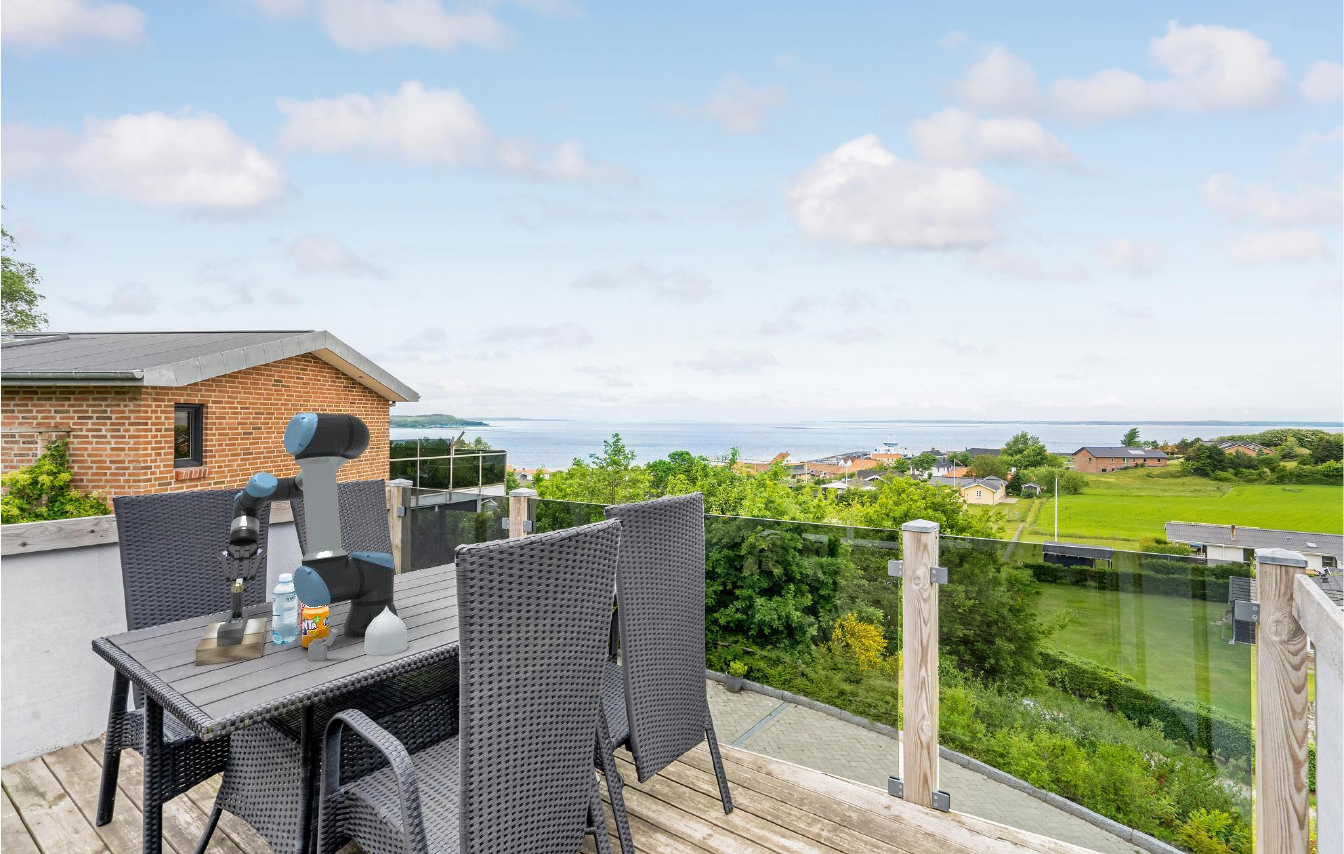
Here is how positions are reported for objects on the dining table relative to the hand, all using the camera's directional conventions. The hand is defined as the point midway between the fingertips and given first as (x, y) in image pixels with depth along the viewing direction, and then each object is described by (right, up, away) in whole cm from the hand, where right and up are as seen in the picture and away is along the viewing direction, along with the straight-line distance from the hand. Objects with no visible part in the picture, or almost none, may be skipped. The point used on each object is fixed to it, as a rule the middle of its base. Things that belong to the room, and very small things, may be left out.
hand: (238, 600), depth 192 cm
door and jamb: (+7, -10, -12) cm, 17 cm away
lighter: (+36, -10, -20) cm, 42 cm away
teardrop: (+48, -11, -12) cm, 50 cm away
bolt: (+5, -5, -9) cm, 11 cm away
